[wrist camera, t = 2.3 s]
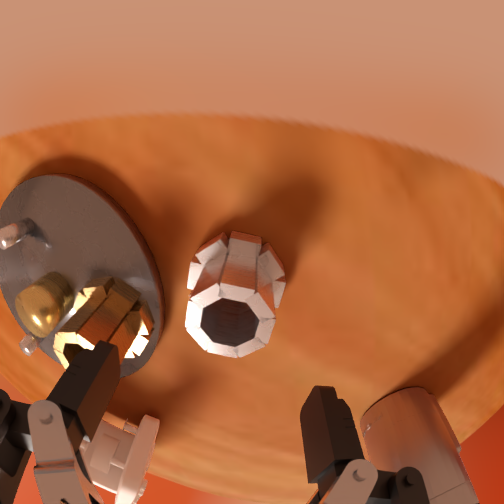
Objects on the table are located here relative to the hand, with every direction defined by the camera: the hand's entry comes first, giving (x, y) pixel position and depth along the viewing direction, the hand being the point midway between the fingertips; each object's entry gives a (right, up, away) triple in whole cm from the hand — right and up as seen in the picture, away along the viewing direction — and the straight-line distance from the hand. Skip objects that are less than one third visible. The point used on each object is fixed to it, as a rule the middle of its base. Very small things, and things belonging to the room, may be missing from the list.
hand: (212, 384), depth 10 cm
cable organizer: (-16, -17, +18) cm, 29 cm away
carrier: (-15, +2, +11) cm, 19 cm away
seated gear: (-9, 0, +10) cm, 13 cm away
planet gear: (0, +4, +10) cm, 11 cm away
